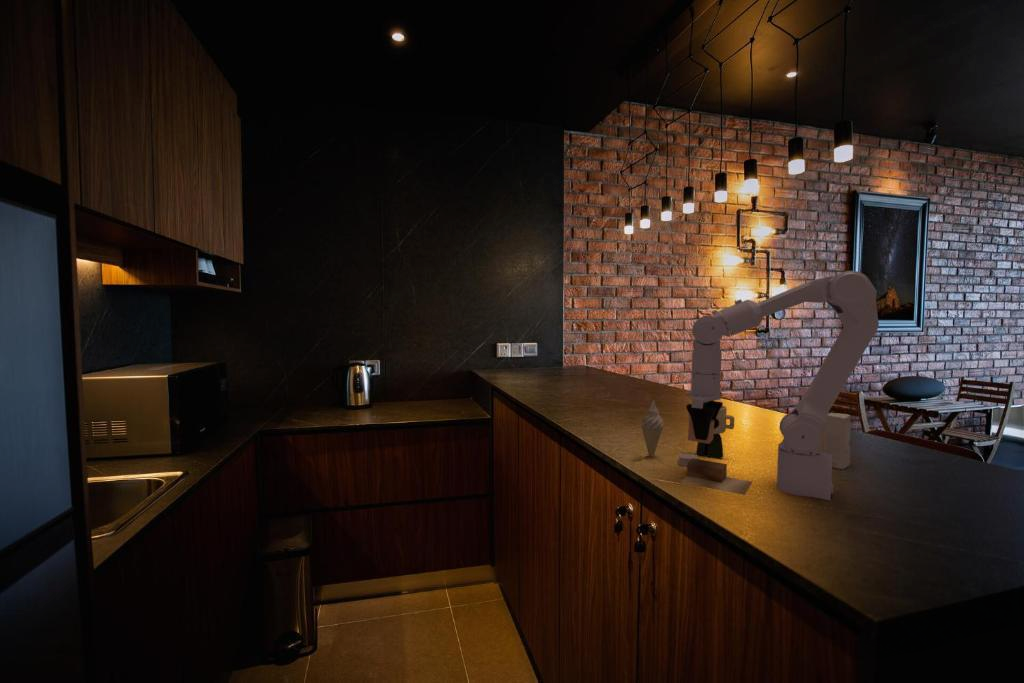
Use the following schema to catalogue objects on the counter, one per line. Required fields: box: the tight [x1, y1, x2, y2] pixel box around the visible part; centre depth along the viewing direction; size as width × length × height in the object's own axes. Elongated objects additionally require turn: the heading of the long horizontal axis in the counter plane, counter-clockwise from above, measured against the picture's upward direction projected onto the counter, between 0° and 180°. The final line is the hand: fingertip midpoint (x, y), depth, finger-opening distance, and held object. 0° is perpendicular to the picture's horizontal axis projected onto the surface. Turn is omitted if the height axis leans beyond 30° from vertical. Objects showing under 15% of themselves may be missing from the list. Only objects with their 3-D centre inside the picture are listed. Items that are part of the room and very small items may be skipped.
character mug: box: [687, 405, 735, 460], centre depth 120 cm, size 11×7×13 cm, turn 52°
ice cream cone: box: [641, 399, 664, 458], centre depth 117 cm, size 5×5×15 cm
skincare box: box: [823, 412, 851, 470], centre depth 115 cm, size 6×4×12 cm
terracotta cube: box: [687, 419, 714, 444], centre depth 102 cm, size 4×4×4 cm
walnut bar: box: [686, 458, 728, 483], centre depth 102 cm, size 7×4×3 cm, turn 55°
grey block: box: [678, 453, 699, 468], centre depth 111 cm, size 4×4×3 cm
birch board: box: [680, 475, 753, 496], centre depth 99 cm, size 12×9×1 cm
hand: (703, 437), depth 102 cm, fingers closed on terracotta cube, 4 cm apart
